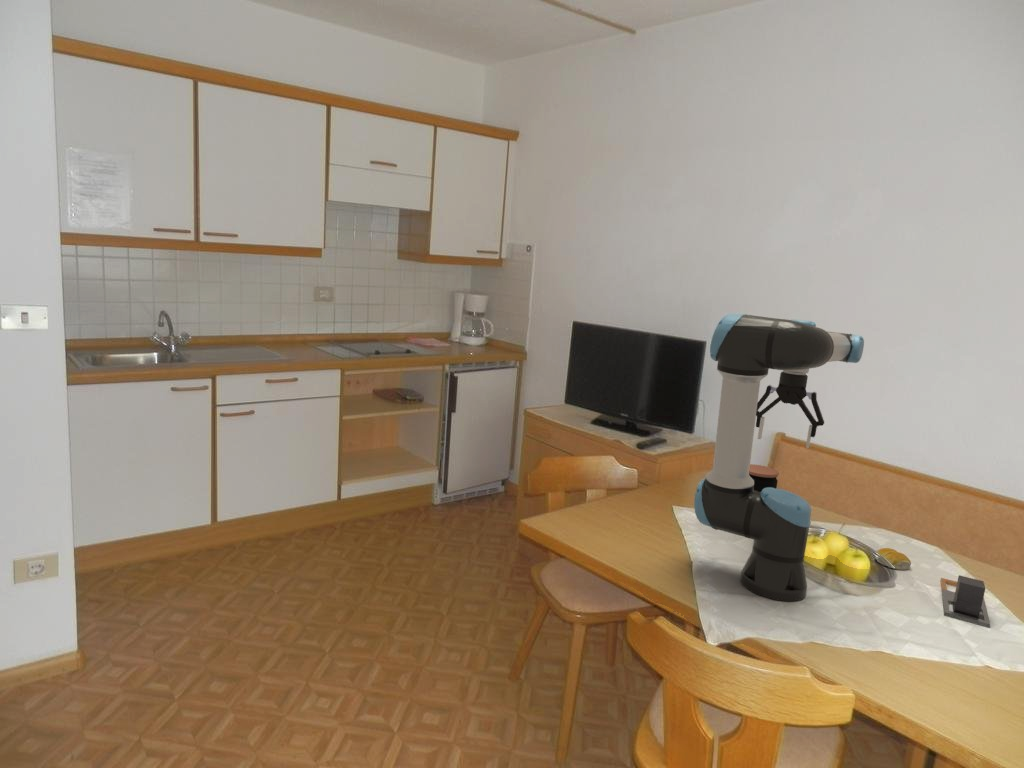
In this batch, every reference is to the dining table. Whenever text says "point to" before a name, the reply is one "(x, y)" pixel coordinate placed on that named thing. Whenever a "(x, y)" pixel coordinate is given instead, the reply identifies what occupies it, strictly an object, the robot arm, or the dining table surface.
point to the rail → (948, 599)
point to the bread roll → (895, 558)
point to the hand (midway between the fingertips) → (783, 442)
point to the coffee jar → (763, 477)
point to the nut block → (968, 596)
